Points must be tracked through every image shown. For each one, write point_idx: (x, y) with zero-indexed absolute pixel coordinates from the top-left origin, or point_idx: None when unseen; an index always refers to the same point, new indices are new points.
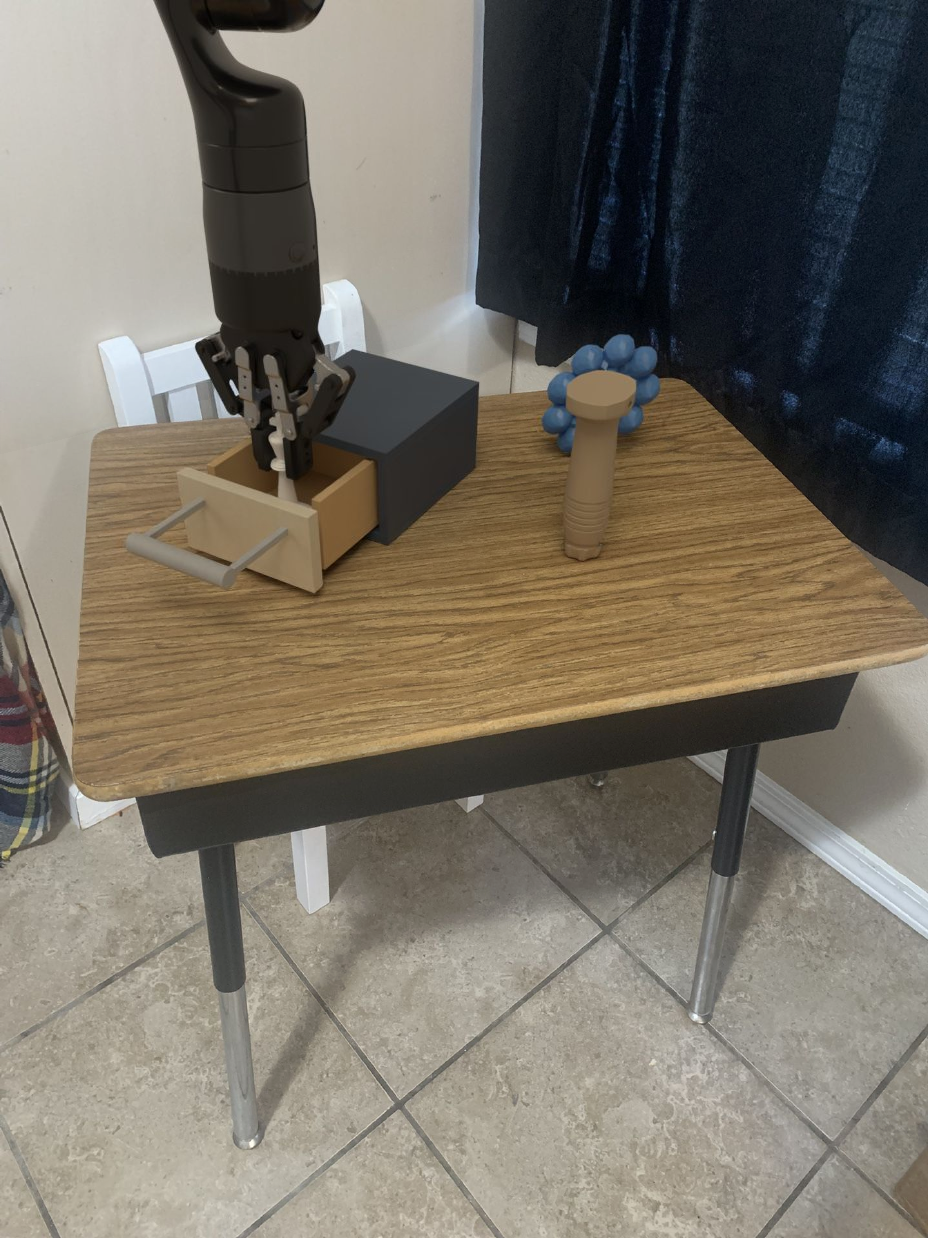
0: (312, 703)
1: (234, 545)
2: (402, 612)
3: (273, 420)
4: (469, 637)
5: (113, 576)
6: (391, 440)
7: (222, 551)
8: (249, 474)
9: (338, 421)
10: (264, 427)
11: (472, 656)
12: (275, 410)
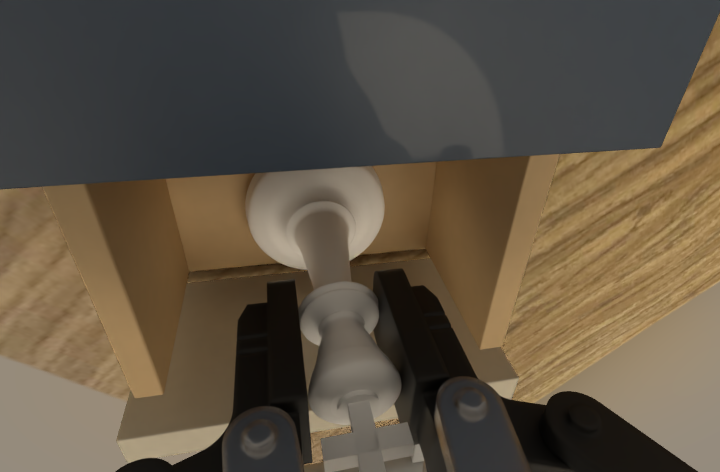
0: (515, 368)
1: None
2: (568, 208)
3: (345, 468)
4: (672, 200)
5: (124, 378)
6: (669, 40)
7: None
8: (147, 224)
9: (370, 12)
10: (303, 448)
11: (678, 228)
12: (297, 437)
